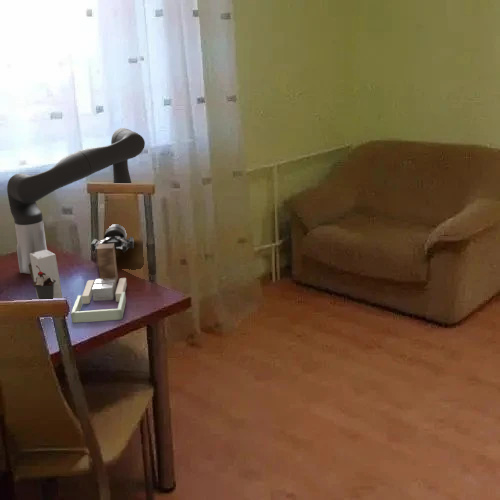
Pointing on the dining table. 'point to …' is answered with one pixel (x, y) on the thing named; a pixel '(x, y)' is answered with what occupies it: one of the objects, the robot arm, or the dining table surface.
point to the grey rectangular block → (103, 292)
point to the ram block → (107, 261)
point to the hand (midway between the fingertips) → (110, 250)
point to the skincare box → (46, 268)
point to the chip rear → (106, 281)
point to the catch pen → (97, 312)
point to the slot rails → (90, 283)
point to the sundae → (44, 286)
